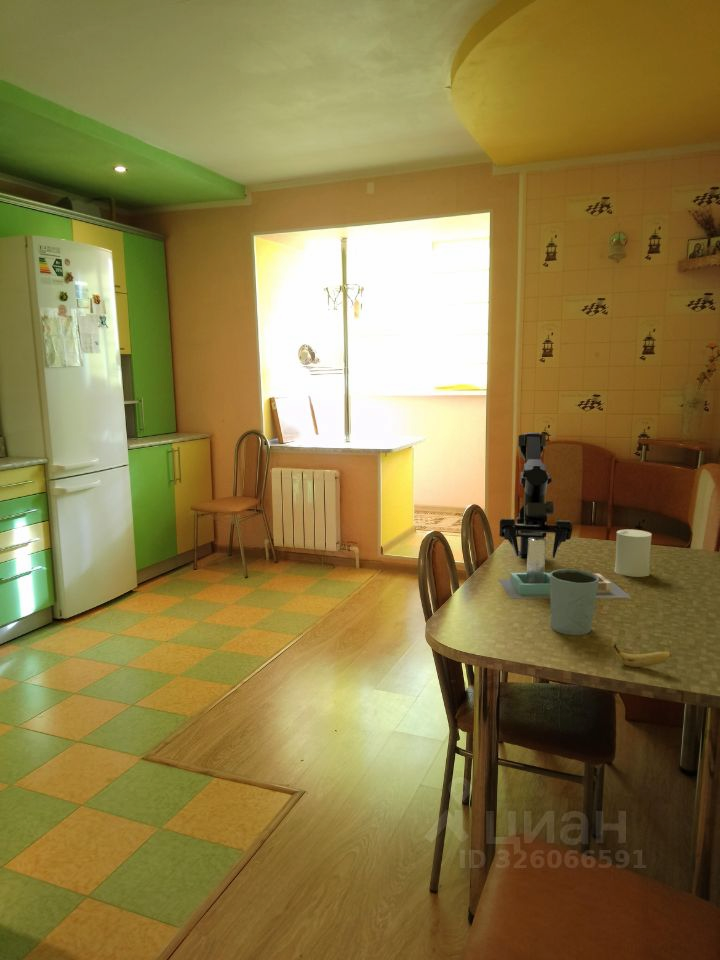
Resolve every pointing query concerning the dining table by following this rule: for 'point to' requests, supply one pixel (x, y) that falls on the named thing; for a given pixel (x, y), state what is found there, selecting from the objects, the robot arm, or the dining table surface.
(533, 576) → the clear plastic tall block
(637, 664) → the banana
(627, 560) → the can
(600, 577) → the socket block
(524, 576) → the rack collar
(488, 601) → the dining table surface
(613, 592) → the mat
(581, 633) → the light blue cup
